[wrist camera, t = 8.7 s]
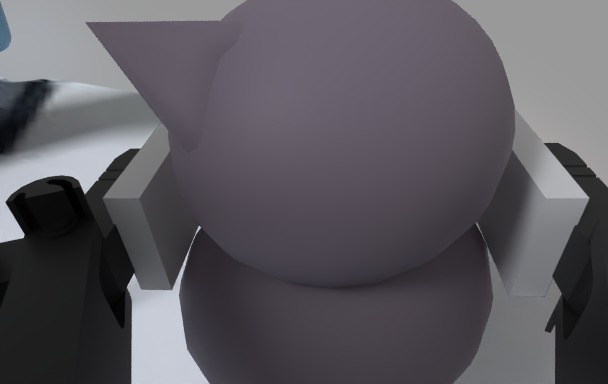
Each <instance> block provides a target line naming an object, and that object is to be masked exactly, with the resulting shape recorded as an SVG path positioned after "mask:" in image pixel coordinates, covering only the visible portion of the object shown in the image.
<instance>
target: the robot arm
mask: <svg viewBox="0 0 608 384" xmlns="http://www.w3.org/2000/svg"><path fill="white" fill-rule="evenodd" d="M10 42H11V34H10V30H9V26H8V23H7V20H6V17H5V14H4V11H3V9H2V5H1V3H0V52H1V51H3V50H5V49H6V48H7V47H8V46H9V44H10ZM6 204H7V206H8V207H9V209H10V211H11V212H12V214H13V216H14V217H15V219H16V221H17V222H18V224H19V226H20V227H21V229H22V231H23V232H24V234H25V236H24V238H22V239H17V240H12V241H7V242H2V243H0V384H131V341H132V300H131V297H130V293H129V291H128V289H127V285H128V284H129V282H130V280H131V278H132V276H133V274H135V276H136V278H137V281H138V283H139V285H140V288H141V289H142V290H172V289H173V286H174V284H175V282H176V279H177V277H178V274H179V272H180V270H181V267H182V265H183V262H184V260H185V257H186V255H187V253H188V250H189V248H190V245H191V243H192V241H193V238H194V236H195V233H196V231H197V229H198V226H199V225H198V224H197V222H196V221H195V220H194V218H193V217H192V215H191V214H190V213H189V211H188V210H187V209H186V207H185V205H184V203H183V200H182V198H181V195H180V193H179V190H178V188H177V184H176V179H175V174H174V169H173V163H172V158H171V152H170V146H169V140H168V130H167V128H166V127H165V126H164V125H163V123H162V122H161V123H160V124H159V126H158V127H157V128H156V130H155V131H154V132H153V133H152V135H151V136H150V137H149V139H148V140H147V141H146V142H145V144H144V145H143V146H142V148H141V149H129V150H128V151H126V152H125V153H123V154H122V155H120V156H118V157H117V158H115V159H114V161H113V162H112V163H111V164H110V165H109V167H108V168H107V169H106V172H104V173H103V174H102V175H101V176H100V177H99V181H96V182H95V183H94V185H93V186H92V187H91V188H90V189H89V190H88V192H87V193H86V194H84V192H83V190H82V187H81V185H80V183H79V181H78V180H77V179H75V178H73V177H70V176H53V177H47V178H43V179H40V180H36V181H34V182H31V183H29V184H27V185H25V186H23V187H21V188H20V189H18V190H17V191H16V192H14V193H13V194H11V196H10V197H9V198H8V200H7V201H6ZM477 223H478V225H479V227H480V230H481V232H482V234H483V237H484V239H485V241H486V244H487V246H488V248H489V251H490V253H491V255H492V258H493V260H494V262H495V265H496V267H497V269H498V272H499V274H500V276H501V279H502V281H503V283H504V286H505V288H506V290H507V293H508V295H509V296H517V297H545V295H546V293H547V291H548V289H549V286H550V284H551V282H552V280H553V278H554V280H555V282H556V284H557V286H558V287H559V289H560V291H561V293H562V295H561V297H560V299H559V301H558V303H557V305H556V307H555V309H554V311H553V313H552V315H551V317H550V319H549V321H548V323H547V326H546V329H545V331H546V332H549V333H551V331H552V329H553V327H554V325H555V384H608V187H607V186H606V185H605V184H604V183H603V182H602V181H601V180H600V179H599V178H596V174H595V173H594V172H593V171H592V170H591V169H590V168H587V165H586V164H585V163H584V161H583V160H582V159H581V158H580V157H579V156H578V155H577V154H576V153H575V152H573V151H571V150H569V149H567V148H566V147H564V146H562V145H561V144H559V143H543V142H542V141H541V139H540V138H539V137H538V136H537V135H536V133H535V132H534V131H533V130H532V129H531V128H530V126H529V125H528V124H527V123H526V121H525V120H524V119H523V118H522V117H521V115H520V114H519V113H518V112H517V111H516V109H515V136H514V141H513V147H512V152H511V155H510V158H509V160H508V163H507V165H506V167H505V170H504V172H503V175H502V177H501V179H500V182H499V184H498V186H497V188H496V191H495V193H494V195H493V197H492V200H491V202H490V204H489V206H488V207H487V209H486V210H485V211H484V213H483V214H482V216H481V217H480V218H479V220H478V221H477Z"/></svg>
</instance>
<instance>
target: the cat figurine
mask: <svg viewBox="0 0 608 384" xmlns="http://www.w3.org/2000/svg"><path fill="white" fill-rule="evenodd" d="M86 24H87V25H88V26H89V28H90V29H91V30H92V32H93V33H94V34H95V36H96V37H97V38H98V40H100V42H101V43H102V45H103V46H104V47H105V49H106V50H107V51H108V53H109V54H110V55H111V57H112V58H113V59H114V60H115V62H116V63H117V64H118V66H119V67H120V68H121V70H122V71H123V72H124V74H125V75H126V76H127V77H128V79H129V80H130V81H131V83H132V84H133V85H134V87H135V88H136V89H137V90H138V92H139V93H140V94H141V96H142V97H143V98H144V100H145V101H146V102H147V104H148V105H149V106H150V108H151V109H152V110H153V111H154V113H155V114H156V115H157V117H158V118H159V119H160V121H161V122H162V123H163V125H164V126H165V127H166V128H167V130H168V140H169V146H170V152H171V158H172V163H173V169H174V174H175V179H176V184H177V188H178V190H179V193H180V195H181V198H182V200H183V203H184V205H185V207H186V209H187V210H188V211H189V213H190V214H191V215H192V217H193V218H194V220H195V221H196V222H197V224H198V225H199V226H200V227H201V228H200V230H199V231H198V233H197V234H196V236H195V238H194V241H193V243H192V245H191V248H190V251H189V255H188V259H187V262H186V266H185V269H184V273H183V276H182V280H181V286H180V293H179V298H180V305H181V312H182V318H183V325H184V332H185V338H186V344H187V349H188V351H189V353H190V354H191V356H192V357H193V359H194V361H195V362H196V364H197V365H198V367H199V368H200V370H201V371H202V373H203V374H204V376H205V377H206V379H207V380H208V382H209V383H210V384H453V383H454V382H455V381H456V380H457V379H458V377H459V376H460V375H461V374H462V373H463V372H464V371H465V369H466V368H467V367H468V366H469V365H470V364H471V362H472V360H473V359H474V357H475V355H476V353H477V351H478V348H479V344H480V341H481V338H482V335H483V332H484V329H485V326H486V323H487V320H488V317H489V314H490V311H491V306H492V300H493V293H492V284H491V275H490V266H489V257H488V251H487V245H486V243H485V241H484V239H483V237H482V235H481V233H480V231H479V229H478V227H477V226H476V224H475V223H476V222H477V221H478V220H479V218H480V217H481V216H482V214H483V213H484V211H485V210H486V209H487V207H488V206H489V204H490V202H491V200H492V197H493V195H494V193H495V191H496V188H497V186H498V184H499V182H500V179H501V177H502V175H503V172H504V170H505V167H506V165H507V163H508V160H509V158H510V155H511V152H512V147H513V141H514V136H515V106H514V102H513V98H512V94H511V90H510V86H509V82H508V79H507V76H506V73H505V70H504V66H503V63H502V60H501V59H500V57H499V54H498V53H497V50H496V48H495V46H494V44H493V42H492V40H491V39H490V38H489V36H488V35H487V34H486V33H485V31H484V30H483V29H482V28H481V26H480V25H479V24H478V22H477V21H476V20H475V19H474V18H472V17H471V16H470V15H469V14H468V13H467V12H465V11H464V10H463V9H462V8H461V7H460V6H458V5H457V4H456V3H455V2H453V1H452V0H247V1H245V2H244V3H242V4H241V5H239V6H238V7H237V8H235V9H233V10H232V11H231V12H229V13H228V14H227V15H226V16H225V17H224V18H223V19H222V20H221V21H167V22H166V21H162V22H161V21H160V22H86Z"/></svg>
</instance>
